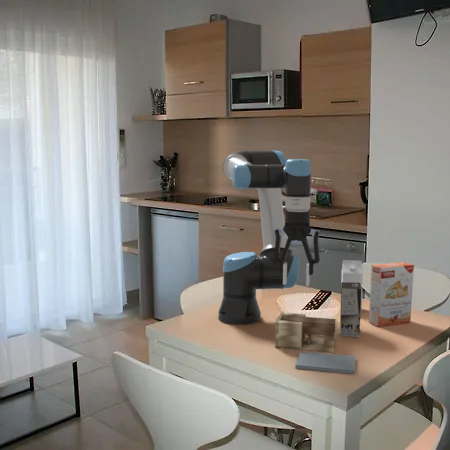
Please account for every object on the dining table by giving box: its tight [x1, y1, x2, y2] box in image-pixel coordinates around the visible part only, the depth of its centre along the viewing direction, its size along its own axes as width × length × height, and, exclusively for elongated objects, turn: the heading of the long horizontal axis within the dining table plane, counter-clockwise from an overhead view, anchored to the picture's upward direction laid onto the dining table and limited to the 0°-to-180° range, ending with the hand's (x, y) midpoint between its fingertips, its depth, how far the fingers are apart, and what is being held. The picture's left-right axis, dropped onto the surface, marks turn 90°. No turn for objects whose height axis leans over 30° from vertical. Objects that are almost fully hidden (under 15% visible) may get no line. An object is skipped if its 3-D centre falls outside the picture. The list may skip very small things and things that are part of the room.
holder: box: [274, 311, 336, 353], centre depth 184 cm, size 18×11×8 cm, turn 75°
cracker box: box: [368, 261, 415, 328], centre depth 204 cm, size 14×6×21 cm, turn 114°
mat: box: [295, 350, 357, 375], centre depth 168 cm, size 16×11×1 cm
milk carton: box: [340, 259, 364, 310], centre depth 219 cm, size 7×7×19 cm
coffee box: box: [339, 282, 362, 338], centre depth 194 cm, size 9×6×16 cm
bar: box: [288, 316, 336, 337], centre depth 183 cm, size 14×5×4 cm, turn 75°
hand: (296, 284), depth 183 cm, fingers open, 6 cm apart
